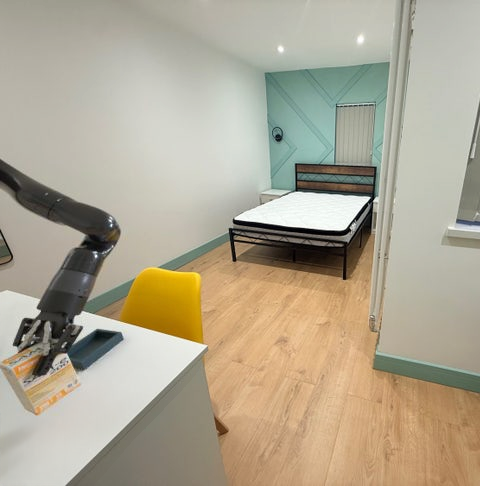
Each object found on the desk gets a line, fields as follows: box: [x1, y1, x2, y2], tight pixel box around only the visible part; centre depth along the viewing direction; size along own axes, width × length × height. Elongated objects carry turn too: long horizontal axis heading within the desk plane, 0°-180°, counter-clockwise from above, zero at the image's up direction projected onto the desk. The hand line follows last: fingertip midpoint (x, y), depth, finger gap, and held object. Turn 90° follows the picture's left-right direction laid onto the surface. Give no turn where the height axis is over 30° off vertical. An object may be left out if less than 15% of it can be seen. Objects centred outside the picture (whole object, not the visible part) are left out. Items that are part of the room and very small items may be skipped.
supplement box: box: [0, 341, 82, 416], centre depth 56 cm, size 8×5×13 cm, turn 160°
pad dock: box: [67, 328, 125, 371], centre depth 80 cm, size 10×13×3 cm
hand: (27, 372), depth 54 cm, fingers closed on supplement box, 5 cm apart
